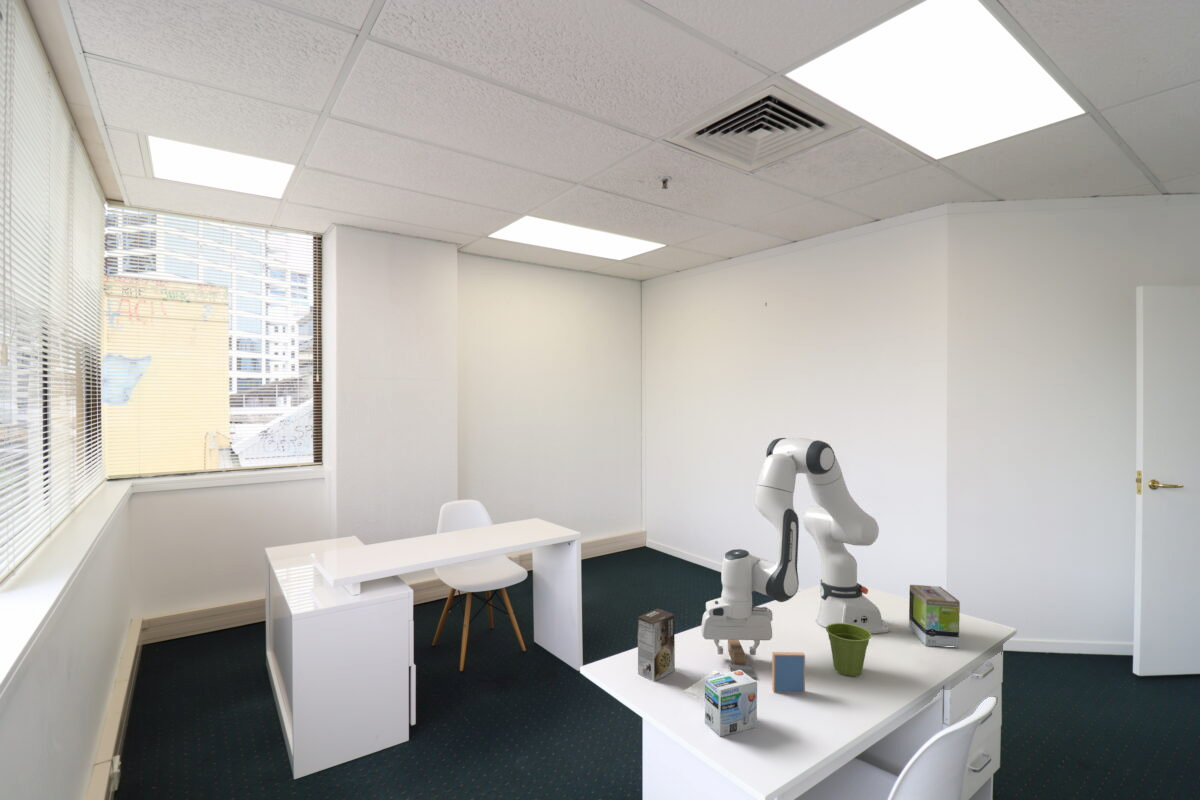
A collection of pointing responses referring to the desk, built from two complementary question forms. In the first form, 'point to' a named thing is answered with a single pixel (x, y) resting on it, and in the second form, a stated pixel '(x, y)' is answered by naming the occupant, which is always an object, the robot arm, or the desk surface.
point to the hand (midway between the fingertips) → (736, 653)
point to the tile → (788, 672)
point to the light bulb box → (730, 702)
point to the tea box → (934, 615)
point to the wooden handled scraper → (739, 658)
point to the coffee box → (656, 644)
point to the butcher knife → (699, 686)
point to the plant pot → (848, 647)
